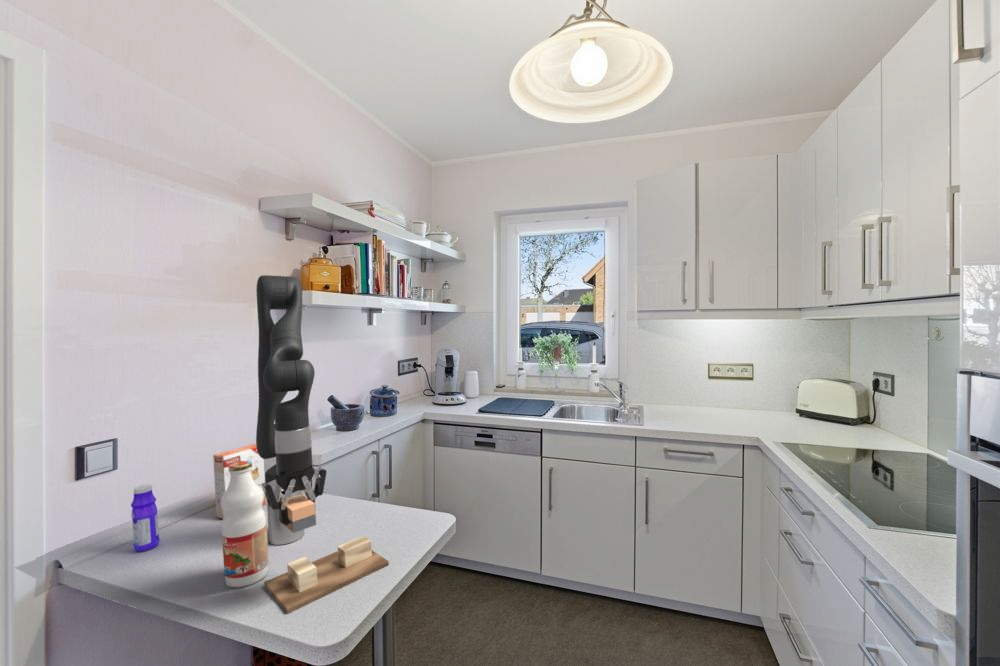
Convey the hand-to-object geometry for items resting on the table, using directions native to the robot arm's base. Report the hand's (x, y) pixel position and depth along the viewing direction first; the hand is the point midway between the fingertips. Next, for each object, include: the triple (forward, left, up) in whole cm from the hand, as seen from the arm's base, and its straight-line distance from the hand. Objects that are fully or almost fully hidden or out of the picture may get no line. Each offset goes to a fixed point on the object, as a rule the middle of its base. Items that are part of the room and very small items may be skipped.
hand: (297, 519), depth 101 cm
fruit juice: (-15, -7, -16) cm, 23 cm away
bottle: (-56, -22, -16) cm, 62 cm away
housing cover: (0, 0, +2) cm, 2 cm away
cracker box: (-62, +4, -16) cm, 64 cm away
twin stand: (0, +6, -16) cm, 17 cm away
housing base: (0, 0, -1) cm, 1 cm away
